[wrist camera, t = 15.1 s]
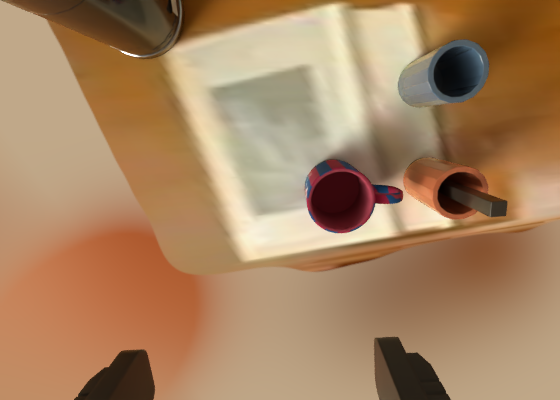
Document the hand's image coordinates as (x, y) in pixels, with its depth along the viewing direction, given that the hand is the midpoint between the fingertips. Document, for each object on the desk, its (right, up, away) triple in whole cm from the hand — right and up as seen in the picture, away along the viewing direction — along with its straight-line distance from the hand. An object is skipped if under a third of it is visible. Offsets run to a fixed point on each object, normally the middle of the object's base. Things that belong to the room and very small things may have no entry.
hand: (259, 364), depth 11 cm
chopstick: (+18, +8, +25) cm, 32 cm away
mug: (+9, +7, +27) cm, 29 cm away
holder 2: (+18, +8, +26) cm, 32 cm away
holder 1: (+16, +18, +23) cm, 34 cm away
